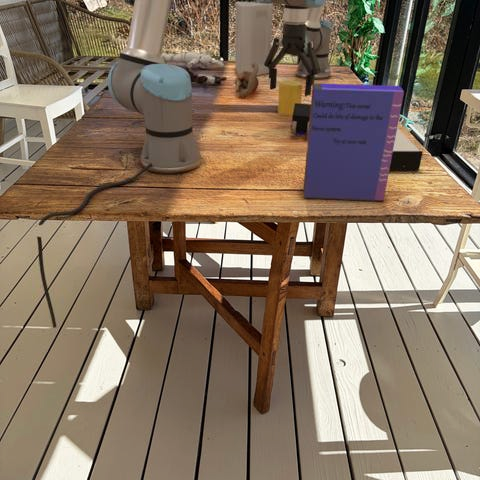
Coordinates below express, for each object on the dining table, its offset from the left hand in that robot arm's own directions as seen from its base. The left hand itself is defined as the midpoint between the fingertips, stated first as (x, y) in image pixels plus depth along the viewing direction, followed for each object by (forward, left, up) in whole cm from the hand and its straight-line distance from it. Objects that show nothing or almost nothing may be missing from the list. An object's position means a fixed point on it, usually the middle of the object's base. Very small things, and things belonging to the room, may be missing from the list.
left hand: (289, 92), depth 161 cm
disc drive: (-36, -27, -7) cm, 45 cm away
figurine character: (-22, -6, -7) cm, 24 cm away
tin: (0, 0, -7) cm, 7 cm away
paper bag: (+59, +22, -7) cm, 64 cm away
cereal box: (-63, -19, -7) cm, 66 cm away
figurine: (+29, +44, -7) cm, 53 cm away
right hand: (+62, +33, +25) cm, 75 cm away
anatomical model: (+20, +19, -7) cm, 28 cm away
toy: (+61, +52, -7) cm, 80 cm away
